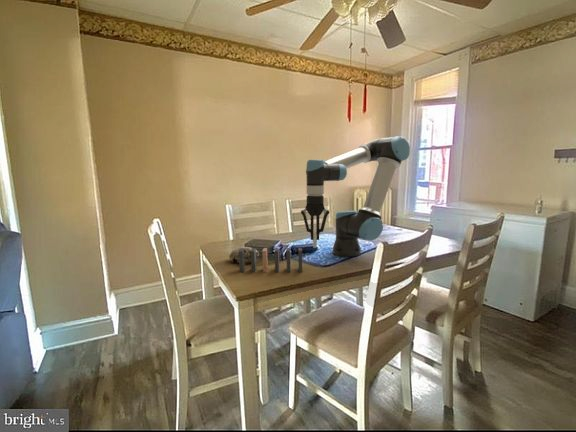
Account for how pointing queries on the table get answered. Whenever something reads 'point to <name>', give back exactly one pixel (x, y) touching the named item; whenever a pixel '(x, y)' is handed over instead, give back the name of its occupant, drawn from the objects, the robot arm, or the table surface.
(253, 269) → the domino
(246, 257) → the skull
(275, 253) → the domino
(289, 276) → the table surface
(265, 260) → the domino
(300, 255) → the domino
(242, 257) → the domino
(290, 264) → the domino
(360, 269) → the table surface
